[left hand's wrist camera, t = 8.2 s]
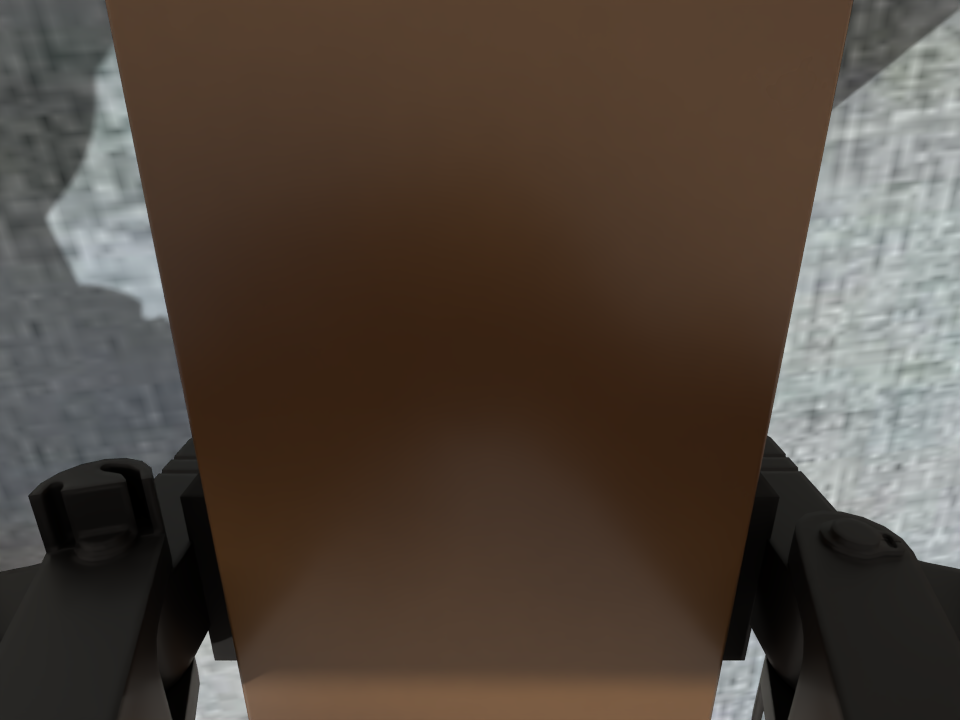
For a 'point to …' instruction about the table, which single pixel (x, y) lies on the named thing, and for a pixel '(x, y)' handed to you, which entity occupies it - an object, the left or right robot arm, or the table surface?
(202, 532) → the left robot arm
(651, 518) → the bar
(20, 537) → the table surface
